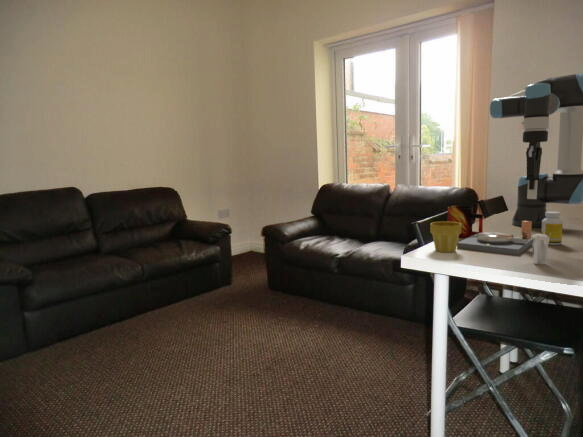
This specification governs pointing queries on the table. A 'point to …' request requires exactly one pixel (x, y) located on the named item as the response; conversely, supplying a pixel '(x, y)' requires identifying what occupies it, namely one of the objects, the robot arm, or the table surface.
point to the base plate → (493, 246)
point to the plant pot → (445, 235)
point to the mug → (465, 219)
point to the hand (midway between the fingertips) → (531, 198)
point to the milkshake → (540, 248)
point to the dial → (506, 235)
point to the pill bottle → (552, 227)
